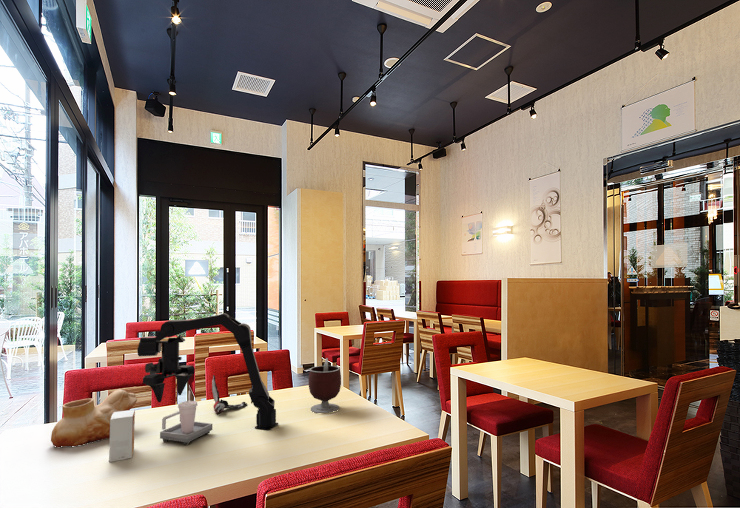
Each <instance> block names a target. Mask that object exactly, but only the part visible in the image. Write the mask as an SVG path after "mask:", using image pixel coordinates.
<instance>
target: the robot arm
mask: <svg viewBox="0 0 740 508" xmlns="http://www.w3.org/2000/svg"><path fill="white" fill-rule="evenodd" d="M220 325H221V326H222V327H224V328H225V329H226V330H228V331H229V332H230V333H232V334H233V337H234V339H235V341H236V343H237V344H238V346H239V348H240V350H241V352H242V357H243V359H244V363H245V366H246V371H247V374H248V376H249V380H250V384H251V388H249V390H248V395H249V398H250V404H253V406H254V407H255V408H256V409H257V410H256V411H257V412H256V418H255V419H256V420H255V421H256V423H255V424H256V425H255V426H254V429H259V430H266V431H269V430H271V429H273V428H275V427H277V426H278V425H279V422H277V409H276V408H275V402H276V401H275V400H274V399H273V398H272V397H271V396H270V392H269V391H268V388H267V387H266V385H265V383H264V382H263V380H262V377H261V373H260V369H259V366H258V363H257V360H256V356H255V353H254V348H253V344H252V341H253V340H252V330H251V327H250V325H249V324H247V323H241V322H240V321H238V320H237V319H235V318H234V317H231V316H230V315H229V314H228V313H220V314H216V315H209V316H204V317H198V318H193V319H170V320H167V321H165V322H163V323H162V324H161V326H160V329H159V330H160V331H159V332H158V333H157V335H155V337H154V336H149V337H148V336H143V337H142V336H141V337H140V338H139V342H138V347H137V349H136V350H137V355H138V358H139V357H155V356H156V357H157V356H158V354H159V353H161V357H160V358H158V362H157V363H153V362H149V363H145V366H144V370H145V373H146V375H144V376H143V378H142V384H143V385H146V386H148V387H150V388H151V389H152V391H153V394H154V396H155V398H156V401H157V403H161V402H162V399H163V396H164V390H165V385H166V383H164V381H165V379H168V378H171V377H175V379H176V381H177V385H176V386H177V396H181V395H182V394H183V392H184V390H185V388H186V386H187V384H188V382H189V380H190V379H191V377H193V375H194V374H195V369H196V368H195V367H194V365H187V364H185V365H184V364H183V365H180V361H181V360H182V359H183V358H182V356H180V344H181V343H184V342H185V341H186V338H184V337H183V336H182V335H181V334H183V333H187V332H188V331H192V330H198V329H204V328H209V327H215V326H220ZM177 335H178V336H177ZM174 336H177V337H174ZM167 338H168V339H167ZM164 339H167V340H164ZM148 373H149V374H148Z"/></svg>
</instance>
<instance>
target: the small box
mask: <svg viewBox="0 0 740 508" xmlns="http://www.w3.org/2000/svg"><path fill="white" fill-rule="evenodd" d="M135 415H136V410H135V409H130V410H127V411H119V412H114V413H113V414H112V416H111V419H110V438H109V450H108V451H109V452H108V455H109V456H108V463H112V462H118V461H123V460H128V459H132V458H133V453H134V450H135Z"/></svg>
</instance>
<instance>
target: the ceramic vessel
mask: <svg viewBox="0 0 740 508" xmlns="http://www.w3.org/2000/svg"><path fill="white" fill-rule="evenodd" d="M137 402H138V398H137V395H136V393H133V392H128V391H126V390H124V389H121V388H118V389H115V390H113V391H112V392H111V393H110V394H109V395H107V397H105V399H104V400H103V401H102V402H101V403H99V404H95V401H94V398H89V397H88V398H83V399H79V400H78V399H77V400H72V401H69V402H66V403H64V404H62V407H61V408H62V412H63V417H62V418H61V419H60V420H59V421H57V422H56V424H55V425H54V427H53V429H52V432H51V434H50V435H51V436H50V442H51V443H52V445H53V446H56V447H55V448H57V447H60V448H62V447H61V446H71V447H70V448H73V447H72V446H76V447H79V446H78V445H81V446H84V445H83V444H85V445H87V443H88V444H93V443H95V442H99V441H98V440H100V441H103V440H107V439H110V419H111V416H112V414H113V413H114V412H119V411H127V410H132V408H133V407H134V406H135V405H136V404H137ZM106 438H107V439H106ZM102 439H103V440H102ZM92 442H93V443H92Z"/></svg>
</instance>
